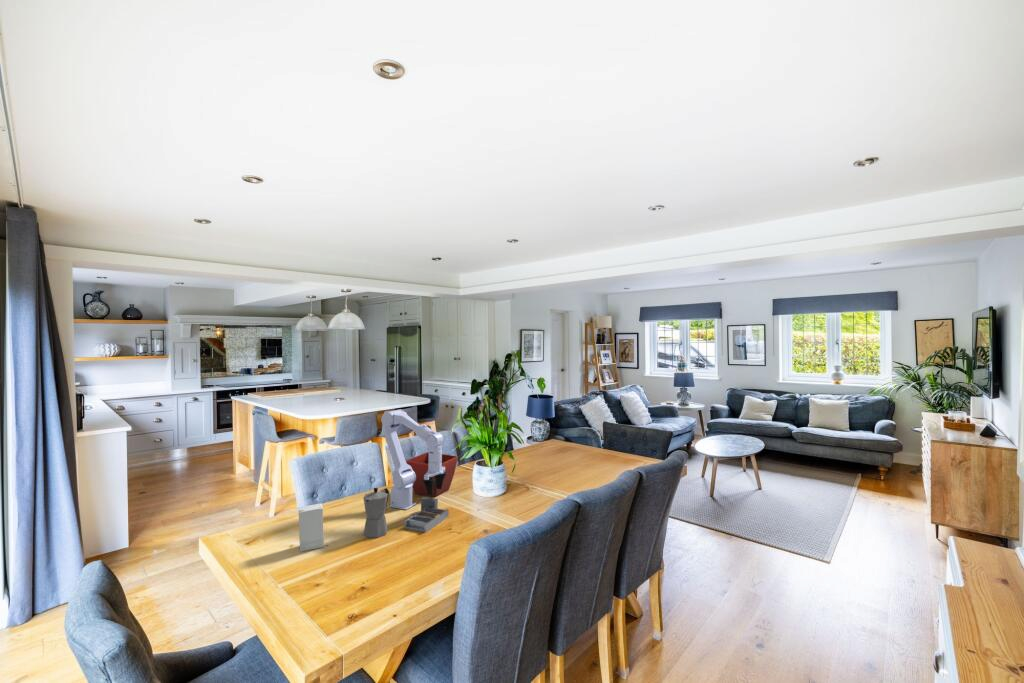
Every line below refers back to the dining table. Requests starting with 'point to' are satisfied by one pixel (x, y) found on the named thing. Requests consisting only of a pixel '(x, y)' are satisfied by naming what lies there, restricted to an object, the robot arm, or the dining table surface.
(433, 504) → the block
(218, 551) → the dining table surface
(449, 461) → the plant pot
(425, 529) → the rack
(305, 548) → the skincare box
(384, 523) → the coffeepot
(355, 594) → the dining table surface
